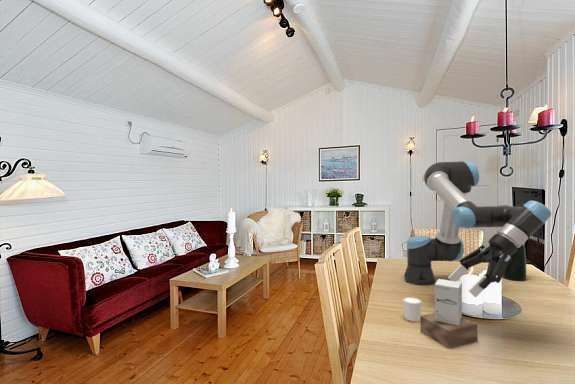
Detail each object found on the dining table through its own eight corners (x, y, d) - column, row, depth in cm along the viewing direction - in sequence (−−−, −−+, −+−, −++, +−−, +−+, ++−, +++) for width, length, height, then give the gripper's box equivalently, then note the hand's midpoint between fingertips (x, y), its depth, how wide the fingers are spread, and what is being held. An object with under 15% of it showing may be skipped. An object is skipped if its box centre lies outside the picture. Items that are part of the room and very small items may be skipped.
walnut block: (420, 333, 107) (420, 316, 107) (447, 327, 111) (447, 310, 111) (449, 350, 96) (448, 330, 96) (477, 342, 100) (477, 324, 100)
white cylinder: (421, 315, 121) (421, 297, 121) (423, 323, 114) (422, 304, 114) (402, 313, 123) (402, 296, 123) (403, 321, 116) (402, 302, 116)
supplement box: (434, 321, 103) (433, 283, 103) (438, 313, 109) (438, 278, 109) (459, 327, 98) (458, 287, 98) (462, 318, 104) (462, 281, 104)
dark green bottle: (531, 281, 158) (530, 217, 158) (508, 281, 160) (507, 217, 159) (519, 275, 168) (518, 215, 168) (498, 275, 170) (497, 215, 170)
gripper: (544, 257, 89) (491, 309, 90) (492, 241, 114) (451, 282, 115) (525, 239, 89) (472, 291, 90) (477, 227, 114) (436, 268, 115)
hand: (460, 286), depth 103 cm, fingers open, 13 cm apart
